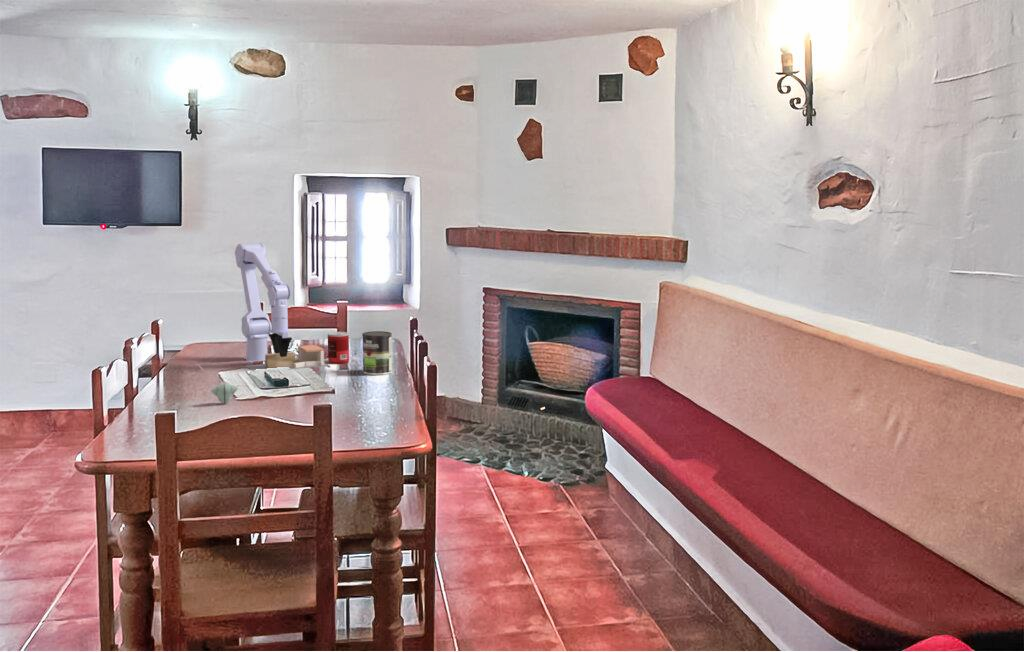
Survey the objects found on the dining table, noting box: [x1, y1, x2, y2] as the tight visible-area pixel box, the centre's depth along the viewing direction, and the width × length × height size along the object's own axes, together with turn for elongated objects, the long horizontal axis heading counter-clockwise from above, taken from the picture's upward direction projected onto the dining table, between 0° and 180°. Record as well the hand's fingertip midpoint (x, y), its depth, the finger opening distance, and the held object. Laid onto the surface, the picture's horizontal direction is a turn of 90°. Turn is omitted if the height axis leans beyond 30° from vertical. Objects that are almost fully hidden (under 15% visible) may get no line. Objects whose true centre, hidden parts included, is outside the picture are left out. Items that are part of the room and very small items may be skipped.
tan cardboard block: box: [264, 351, 297, 368], centre depth 335 cm, size 4×10×4 cm, turn 119°
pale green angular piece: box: [210, 381, 239, 405], centre depth 279 cm, size 8×4×7 cm, turn 109°
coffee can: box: [361, 330, 393, 376], centre depth 327 cm, size 10×10×14 cm
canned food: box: [327, 331, 350, 365], centre depth 346 cm, size 8×8×11 cm
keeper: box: [245, 344, 331, 371], centre depth 336 cm, size 14×27×7 cm, turn 119°
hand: (280, 354), depth 335 cm, fingers open, 7 cm apart
